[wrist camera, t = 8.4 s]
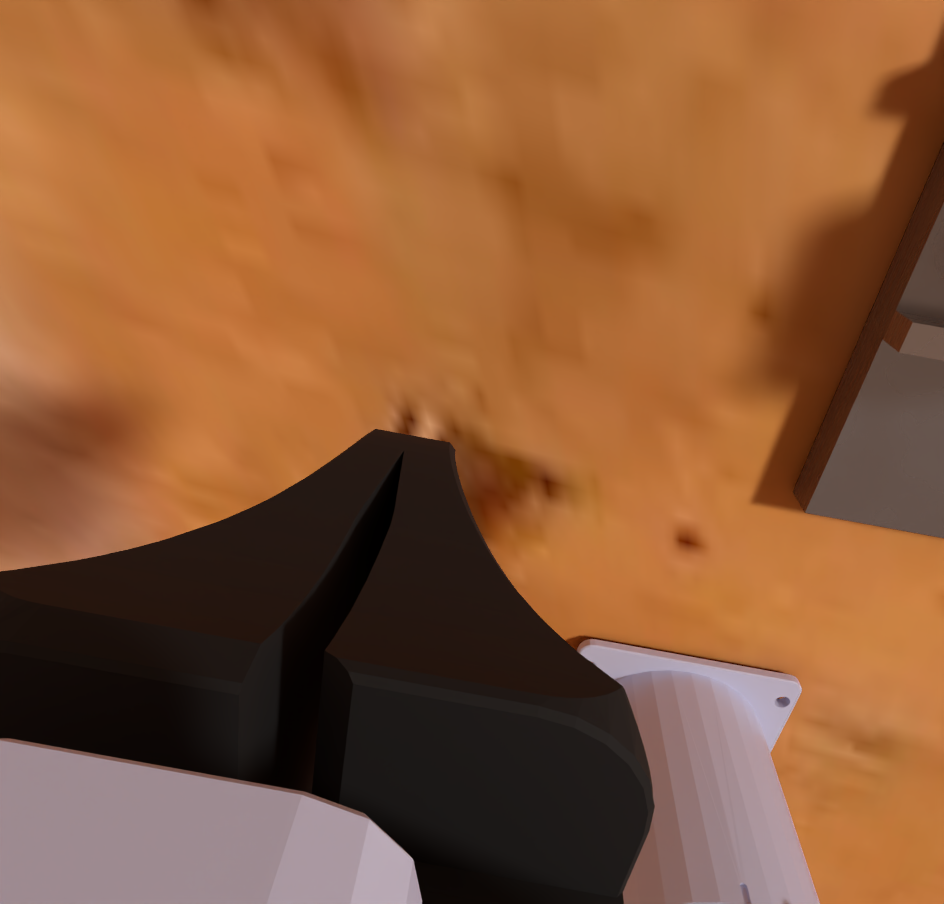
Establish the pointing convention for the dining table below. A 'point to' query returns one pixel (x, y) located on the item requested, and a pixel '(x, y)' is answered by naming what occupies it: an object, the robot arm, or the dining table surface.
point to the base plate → (891, 395)
